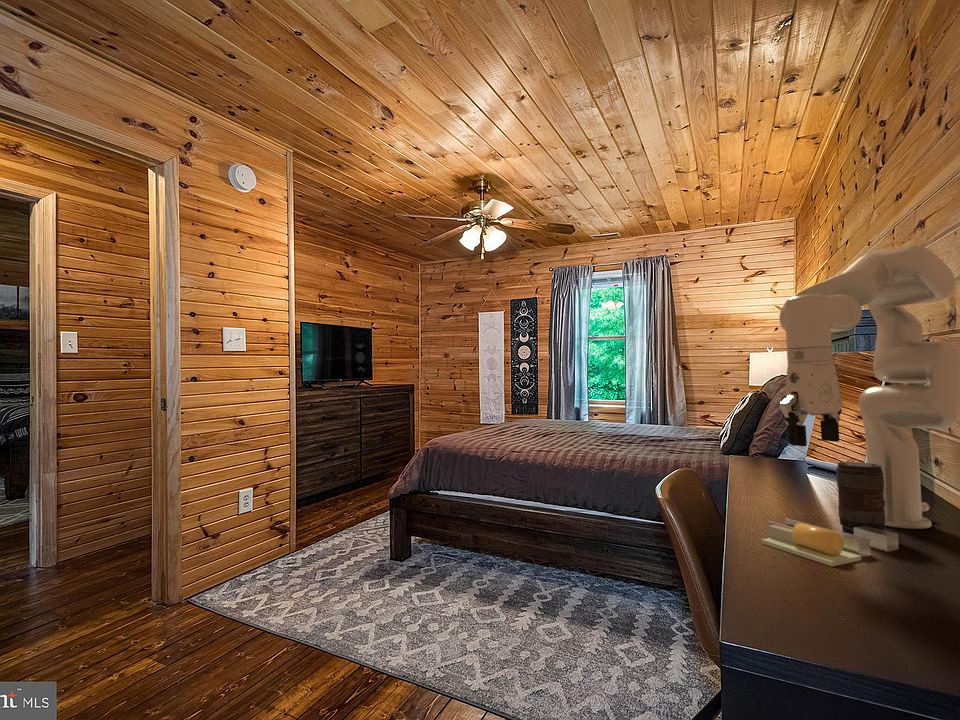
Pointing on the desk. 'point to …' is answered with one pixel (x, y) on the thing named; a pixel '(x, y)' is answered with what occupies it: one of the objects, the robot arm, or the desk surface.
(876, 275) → the robot arm
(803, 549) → the mat
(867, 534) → the housing
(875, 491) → the camera lens
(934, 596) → the desk surface
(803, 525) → the plug
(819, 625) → the desk surface
